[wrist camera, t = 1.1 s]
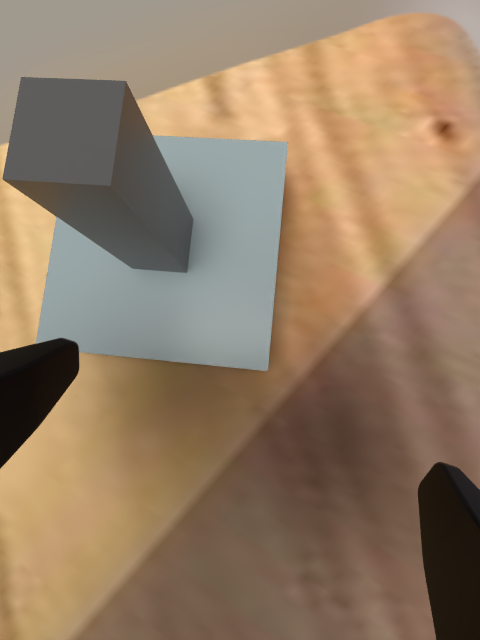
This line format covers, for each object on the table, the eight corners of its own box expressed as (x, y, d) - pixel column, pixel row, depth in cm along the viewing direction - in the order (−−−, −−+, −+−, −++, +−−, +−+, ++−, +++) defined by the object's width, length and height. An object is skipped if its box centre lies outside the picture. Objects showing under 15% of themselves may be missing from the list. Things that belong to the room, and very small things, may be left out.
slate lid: (267, 369, 19) (275, 386, 8) (56, 348, 19) (-197, 337, 9) (285, 161, 20) (313, -69, 9) (86, 150, 21) (-100, -70, 10)
